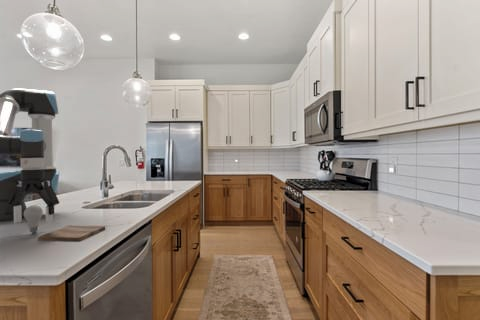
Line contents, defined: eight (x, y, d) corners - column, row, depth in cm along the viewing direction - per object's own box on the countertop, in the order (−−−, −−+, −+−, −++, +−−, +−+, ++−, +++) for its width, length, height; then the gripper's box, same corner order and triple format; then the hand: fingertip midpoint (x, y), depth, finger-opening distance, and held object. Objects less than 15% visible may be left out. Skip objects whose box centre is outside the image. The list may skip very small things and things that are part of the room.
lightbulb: (46, 231, 111) (46, 204, 111) (31, 236, 105) (30, 207, 105) (36, 230, 113) (35, 203, 113) (20, 234, 107) (19, 206, 107)
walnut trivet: (69, 228, 116) (69, 225, 116) (105, 229, 115) (105, 226, 115) (38, 239, 100) (38, 236, 100) (79, 241, 99) (79, 237, 99)
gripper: (-6, 169, 106) (-5, 224, 106) (54, 169, 104) (55, 225, 104) (12, 168, 114) (13, 219, 114) (68, 168, 111) (69, 220, 111)
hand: (33, 222), depth 109 cm, fingers open, 13 cm apart
